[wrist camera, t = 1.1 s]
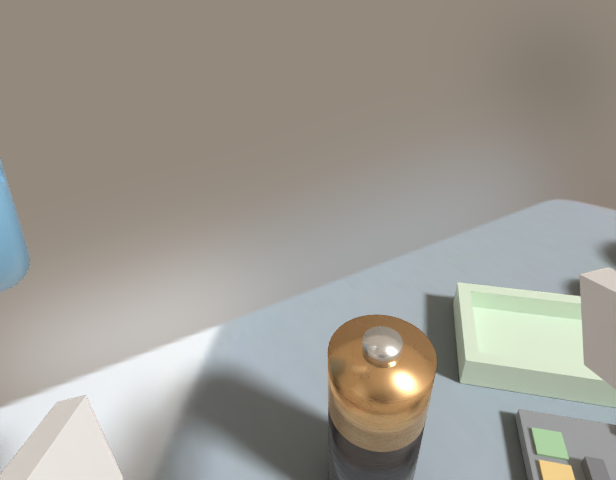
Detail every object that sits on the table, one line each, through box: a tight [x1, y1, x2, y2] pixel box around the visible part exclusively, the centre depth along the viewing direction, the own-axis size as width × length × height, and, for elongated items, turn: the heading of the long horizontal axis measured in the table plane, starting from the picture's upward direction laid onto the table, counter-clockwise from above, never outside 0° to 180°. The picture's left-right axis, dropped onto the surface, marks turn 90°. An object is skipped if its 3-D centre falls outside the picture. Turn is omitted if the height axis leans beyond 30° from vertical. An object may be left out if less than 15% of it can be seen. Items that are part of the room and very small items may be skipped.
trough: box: [453, 283, 616, 408], centre depth 33 cm, size 16×9×3 cm, turn 77°
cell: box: [328, 315, 437, 480], centre depth 23 cm, size 5×5×13 cm
